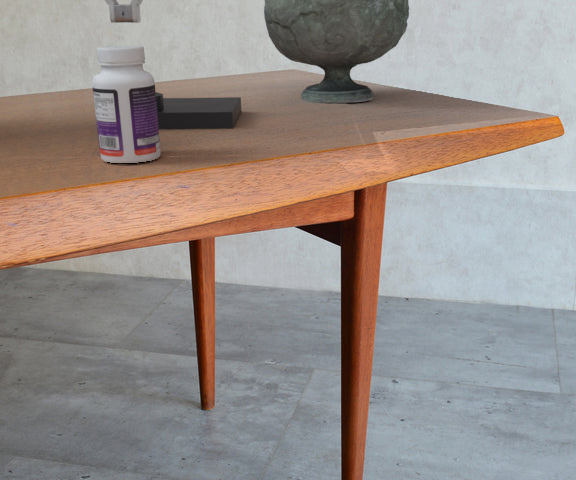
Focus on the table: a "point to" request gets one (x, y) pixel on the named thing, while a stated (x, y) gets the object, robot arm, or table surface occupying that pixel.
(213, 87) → the table surface
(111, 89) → the pill bottle
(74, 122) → the table surface
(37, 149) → the table surface
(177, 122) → the scale
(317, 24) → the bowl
